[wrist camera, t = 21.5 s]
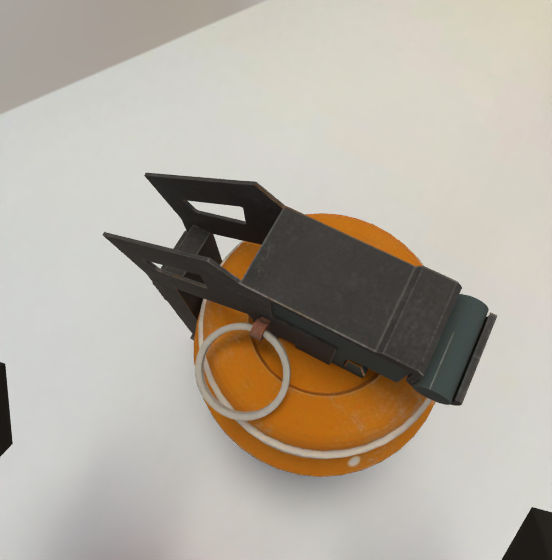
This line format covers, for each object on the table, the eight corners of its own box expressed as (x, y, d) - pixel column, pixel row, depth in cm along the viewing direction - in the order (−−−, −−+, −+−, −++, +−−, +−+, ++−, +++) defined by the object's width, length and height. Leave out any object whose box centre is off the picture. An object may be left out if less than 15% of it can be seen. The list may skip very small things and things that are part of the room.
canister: (341, 498, 28) (454, 585, 9) (172, 403, 30) (-25, 311, 11) (405, 357, 30) (597, 193, 12) (246, 277, 32) (188, 26, 13)
